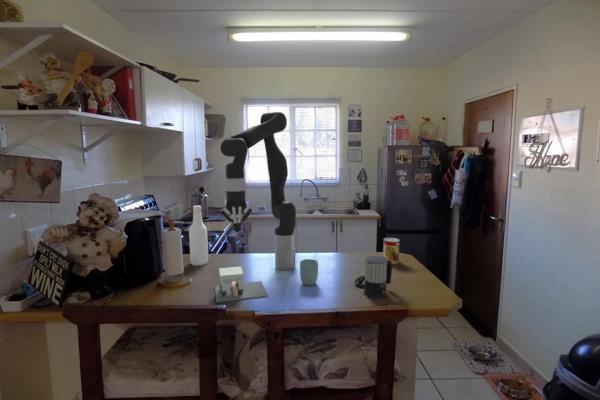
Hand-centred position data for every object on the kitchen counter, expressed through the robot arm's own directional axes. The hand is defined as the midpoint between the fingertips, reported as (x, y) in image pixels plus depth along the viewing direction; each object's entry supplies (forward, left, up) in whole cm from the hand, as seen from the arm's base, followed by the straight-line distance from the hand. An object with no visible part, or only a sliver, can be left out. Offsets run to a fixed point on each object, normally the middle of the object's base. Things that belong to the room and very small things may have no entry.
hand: (237, 231), depth 141 cm
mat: (0, +1, -25) cm, 25 cm away
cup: (-28, +11, -25) cm, 39 cm away
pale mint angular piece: (+3, 0, -20) cm, 21 cm away
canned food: (-81, +12, -25) cm, 86 cm away
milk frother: (-45, +31, -25) cm, 60 cm away
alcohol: (+1, -44, -25) cm, 51 cm away
